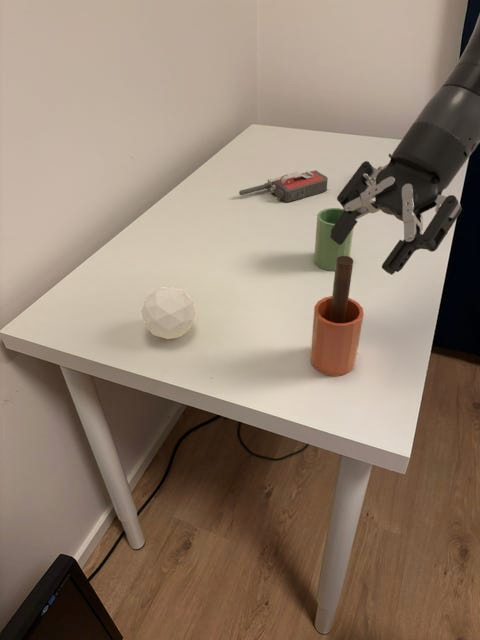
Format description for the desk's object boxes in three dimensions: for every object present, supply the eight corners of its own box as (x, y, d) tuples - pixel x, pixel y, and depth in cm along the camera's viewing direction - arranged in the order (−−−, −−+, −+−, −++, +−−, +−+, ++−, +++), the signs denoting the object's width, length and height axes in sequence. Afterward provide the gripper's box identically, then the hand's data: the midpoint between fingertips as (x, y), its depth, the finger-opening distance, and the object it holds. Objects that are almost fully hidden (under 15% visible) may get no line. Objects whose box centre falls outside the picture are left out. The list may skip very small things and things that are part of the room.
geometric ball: (185, 339, 77) (213, 304, 73) (159, 357, 70) (188, 319, 66) (152, 306, 77) (177, 270, 74) (122, 321, 70) (149, 282, 67)
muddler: (350, 352, 68) (365, 256, 58) (341, 370, 66) (355, 272, 56) (325, 344, 70) (335, 249, 60) (315, 361, 67) (323, 264, 57)
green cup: (353, 256, 88) (359, 212, 83) (342, 274, 84) (347, 228, 79) (321, 249, 91) (325, 205, 85) (308, 265, 87) (311, 220, 81)
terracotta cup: (360, 353, 69) (369, 303, 63) (346, 381, 65) (354, 331, 59) (319, 340, 71) (324, 291, 66) (303, 367, 67) (307, 317, 62)
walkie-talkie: (310, 177, 116) (237, 197, 109) (311, 159, 113) (236, 178, 106) (333, 190, 110) (256, 212, 103) (334, 171, 107) (256, 193, 100)
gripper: (382, 106, 58) (305, 221, 61) (490, 137, 49) (394, 271, 51) (403, 140, 64) (332, 244, 66) (503, 174, 55) (417, 293, 57)
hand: (359, 255), depth 59 cm, fingers open, 8 cm apart
